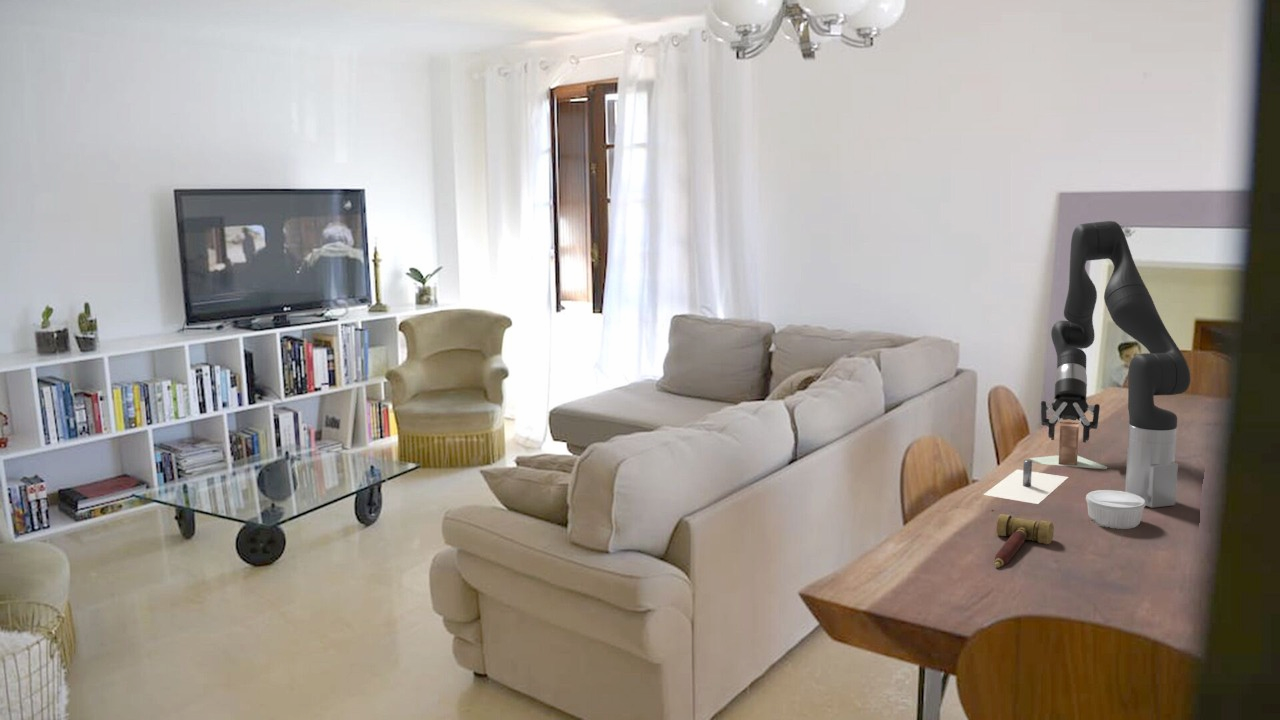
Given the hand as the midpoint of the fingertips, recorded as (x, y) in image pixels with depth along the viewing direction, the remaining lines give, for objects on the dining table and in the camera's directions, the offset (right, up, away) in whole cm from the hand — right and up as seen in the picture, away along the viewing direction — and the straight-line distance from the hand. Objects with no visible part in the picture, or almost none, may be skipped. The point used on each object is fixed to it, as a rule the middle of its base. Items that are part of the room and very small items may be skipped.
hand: (1068, 439), depth 235 cm
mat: (+1, -6, +3) cm, 7 cm away
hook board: (-17, -10, -16) cm, 26 cm away
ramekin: (-8, -14, -39) cm, 42 cm away
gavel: (-35, -18, -53) cm, 66 cm away
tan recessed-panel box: (+1, -6, +3) cm, 7 cm away
